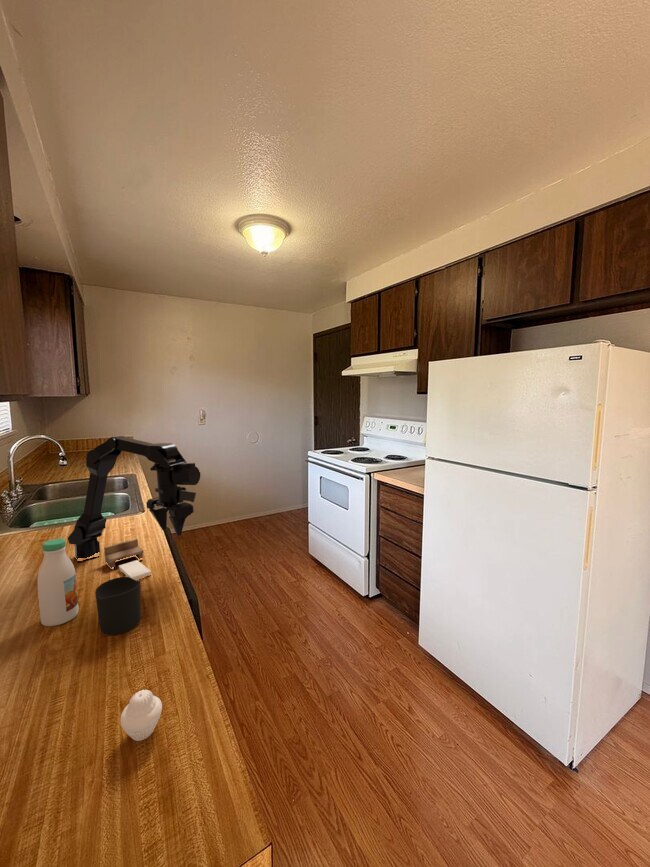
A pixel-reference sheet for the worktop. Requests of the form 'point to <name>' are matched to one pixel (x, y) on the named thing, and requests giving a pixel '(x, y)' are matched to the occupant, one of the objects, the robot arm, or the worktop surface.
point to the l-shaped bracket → (122, 551)
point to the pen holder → (118, 605)
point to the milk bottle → (57, 585)
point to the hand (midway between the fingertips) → (171, 532)
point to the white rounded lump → (141, 715)
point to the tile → (134, 570)
